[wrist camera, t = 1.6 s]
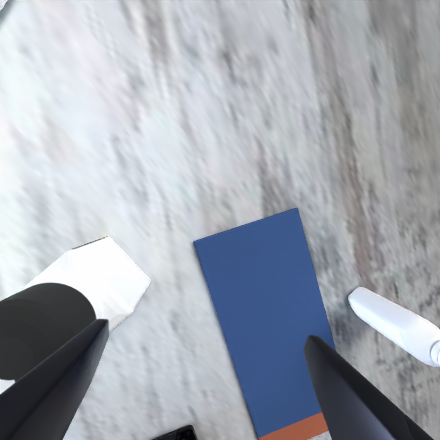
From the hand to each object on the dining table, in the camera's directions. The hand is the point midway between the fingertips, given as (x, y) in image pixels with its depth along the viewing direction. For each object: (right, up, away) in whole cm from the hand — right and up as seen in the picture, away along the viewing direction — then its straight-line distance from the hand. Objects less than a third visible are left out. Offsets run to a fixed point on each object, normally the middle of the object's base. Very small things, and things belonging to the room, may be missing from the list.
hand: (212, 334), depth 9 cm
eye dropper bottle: (+19, -6, +18) cm, 27 cm away
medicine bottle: (-12, -1, +14) cm, 19 cm away
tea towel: (+8, -10, +17) cm, 21 cm away
